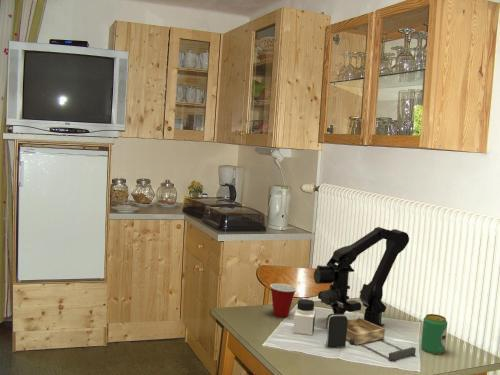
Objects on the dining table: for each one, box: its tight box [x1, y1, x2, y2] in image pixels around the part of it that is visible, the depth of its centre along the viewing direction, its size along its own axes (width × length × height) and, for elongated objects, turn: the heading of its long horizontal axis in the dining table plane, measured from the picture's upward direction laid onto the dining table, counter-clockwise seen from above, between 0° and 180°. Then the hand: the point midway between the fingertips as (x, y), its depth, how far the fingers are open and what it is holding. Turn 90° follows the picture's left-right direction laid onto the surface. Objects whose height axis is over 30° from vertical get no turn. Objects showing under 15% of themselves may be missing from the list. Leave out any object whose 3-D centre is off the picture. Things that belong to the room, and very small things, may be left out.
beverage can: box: [420, 313, 448, 355], centre depth 194 cm, size 8×8×12 cm
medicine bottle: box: [293, 298, 316, 336], centre depth 206 cm, size 7×7×12 cm
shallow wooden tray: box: [346, 317, 386, 345], centre depth 204 cm, size 16×13×4 cm
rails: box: [359, 339, 417, 363], centre depth 197 cm, size 12×29×2 cm, turn 34°
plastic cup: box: [269, 283, 297, 318], centre depth 222 cm, size 11×11×12 cm
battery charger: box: [325, 313, 349, 348], centre depth 193 cm, size 7×4×11 cm, turn 102°
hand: (337, 322), depth 213 cm, fingers closed
